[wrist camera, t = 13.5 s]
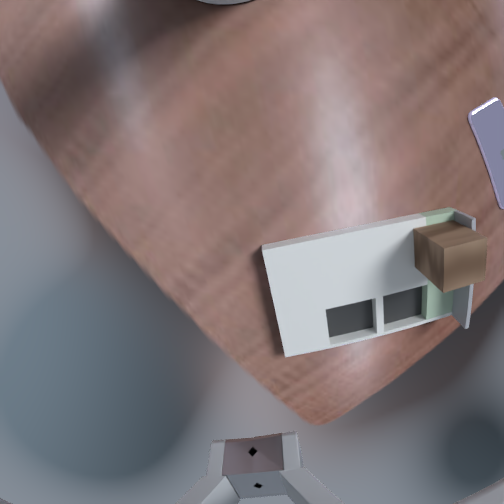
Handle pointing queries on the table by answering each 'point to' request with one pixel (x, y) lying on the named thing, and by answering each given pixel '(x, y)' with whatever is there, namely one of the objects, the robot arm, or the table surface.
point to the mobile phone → (491, 141)
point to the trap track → (358, 283)
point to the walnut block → (450, 255)
